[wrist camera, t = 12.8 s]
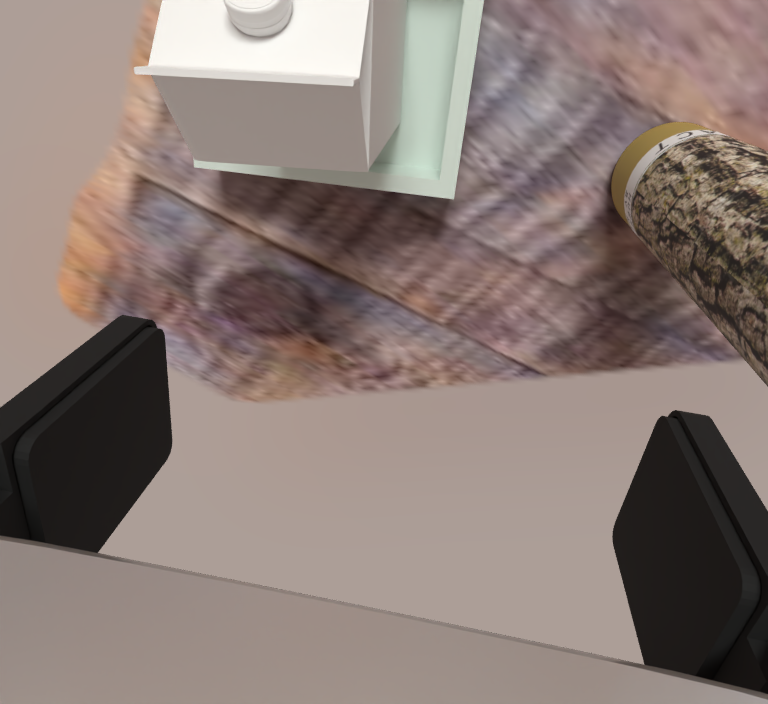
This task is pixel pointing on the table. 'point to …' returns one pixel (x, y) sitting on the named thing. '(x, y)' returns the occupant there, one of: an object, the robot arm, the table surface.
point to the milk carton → (282, 79)
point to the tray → (415, 108)
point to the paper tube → (704, 224)
